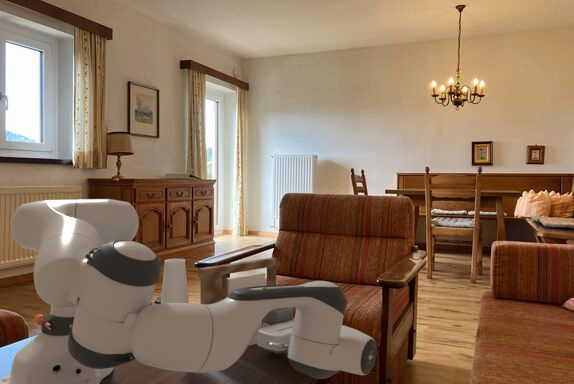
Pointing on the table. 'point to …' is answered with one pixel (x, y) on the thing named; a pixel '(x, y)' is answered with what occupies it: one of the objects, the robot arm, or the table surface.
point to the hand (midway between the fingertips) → (274, 323)
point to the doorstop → (278, 319)
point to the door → (246, 281)
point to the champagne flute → (174, 282)
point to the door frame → (216, 277)
